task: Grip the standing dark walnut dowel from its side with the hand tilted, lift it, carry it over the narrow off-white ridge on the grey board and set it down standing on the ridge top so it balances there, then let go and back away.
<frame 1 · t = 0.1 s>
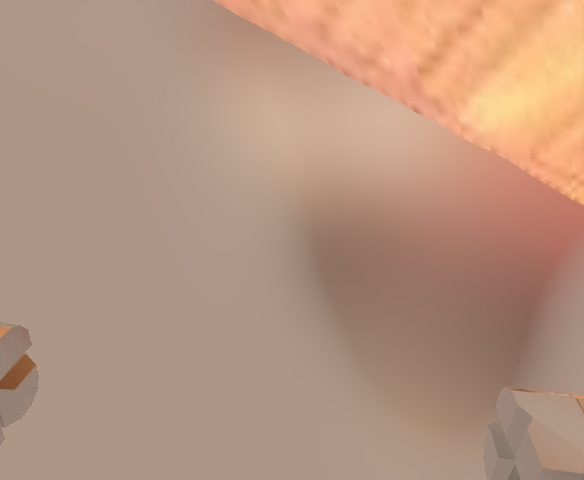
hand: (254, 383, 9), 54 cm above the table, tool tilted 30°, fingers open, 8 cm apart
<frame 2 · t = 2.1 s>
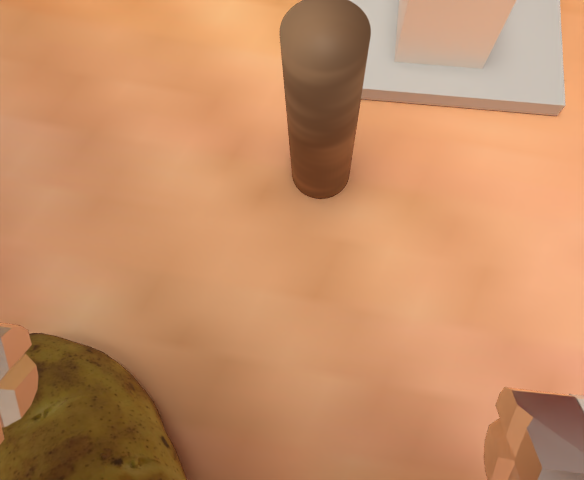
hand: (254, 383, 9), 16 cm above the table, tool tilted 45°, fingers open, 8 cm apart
post: (320, 172, 28), on the table
potato: (115, 459, 24), on the table
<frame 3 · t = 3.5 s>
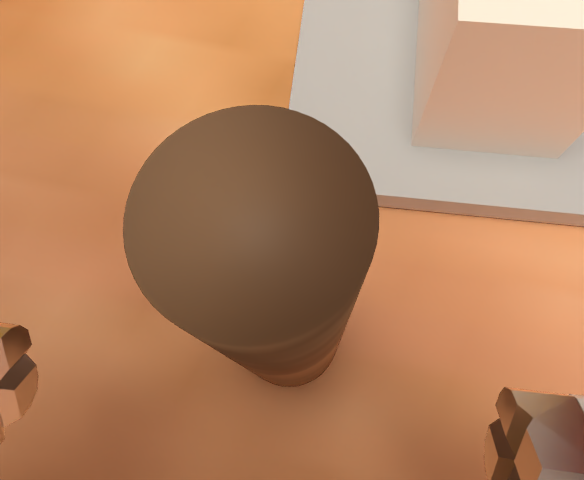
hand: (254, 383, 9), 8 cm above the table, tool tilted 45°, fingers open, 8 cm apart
post: (289, 336, 17), on the table
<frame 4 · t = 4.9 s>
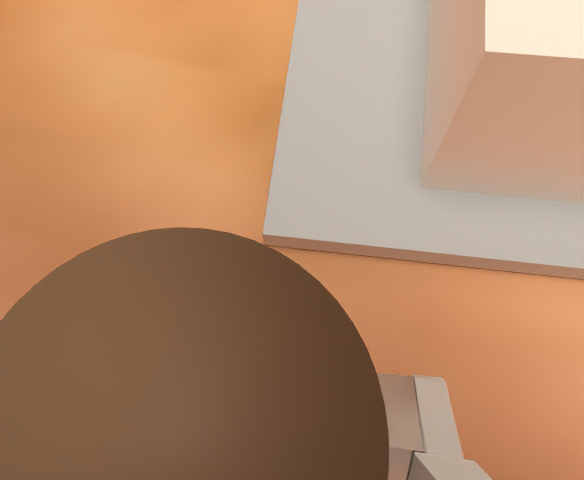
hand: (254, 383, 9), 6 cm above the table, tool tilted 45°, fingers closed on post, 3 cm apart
post: (275, 417, 14), on the table, touching gripper
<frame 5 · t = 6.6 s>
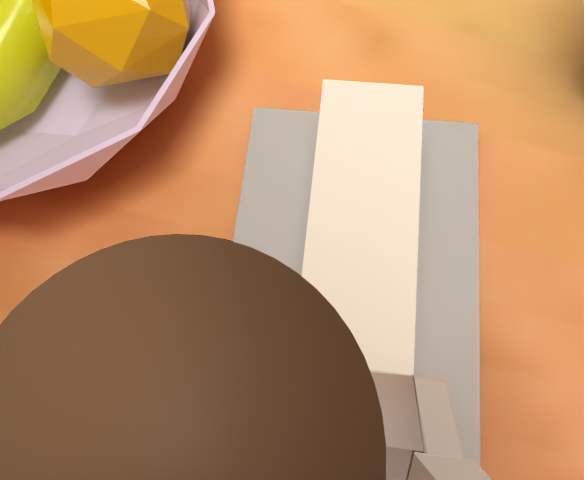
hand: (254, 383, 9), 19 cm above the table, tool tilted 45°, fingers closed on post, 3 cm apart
ridge: (350, 289, 29), on the table
post: (274, 419, 14), point 13 cm above the table, touching gripper
fruit bowl: (56, 54, 35), on the table
when the fingers open (14 cm above the table, at t = 8.6 s): post stays where it is, resting on ridge.
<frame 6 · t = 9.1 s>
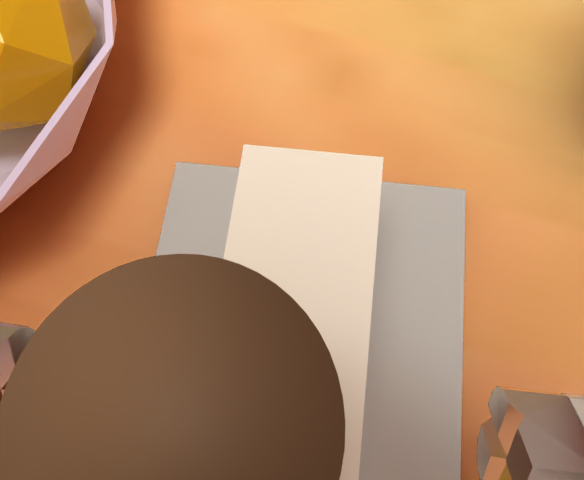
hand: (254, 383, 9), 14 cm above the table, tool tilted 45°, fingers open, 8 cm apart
ridge: (289, 414, 21), on the table
post: (275, 417, 15), point 7 cm above the table, touching ridge
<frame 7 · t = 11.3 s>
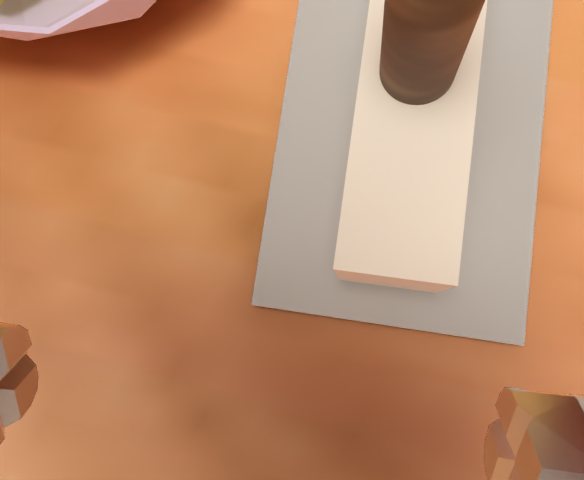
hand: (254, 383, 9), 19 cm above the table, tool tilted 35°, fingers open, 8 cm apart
ridge: (405, 129, 28), on the table
post: (417, 69, 21), point 7 cm above the table, touching ridge
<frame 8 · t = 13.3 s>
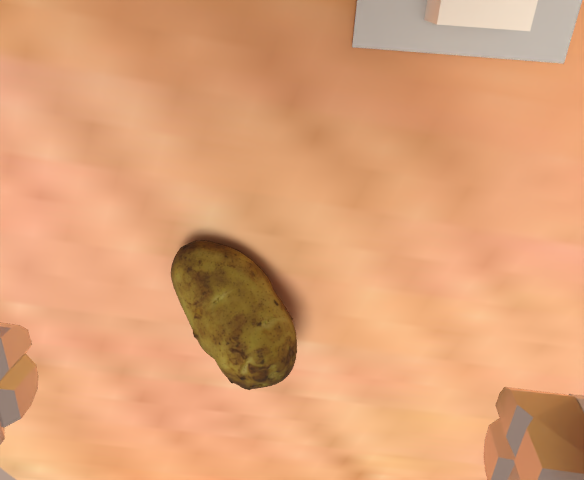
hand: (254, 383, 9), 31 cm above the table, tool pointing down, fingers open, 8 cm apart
potato: (245, 286, 45), on the table
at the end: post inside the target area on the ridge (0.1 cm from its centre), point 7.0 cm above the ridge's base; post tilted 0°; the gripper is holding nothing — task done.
